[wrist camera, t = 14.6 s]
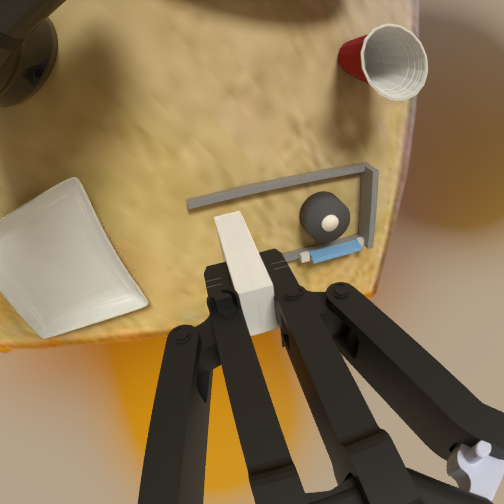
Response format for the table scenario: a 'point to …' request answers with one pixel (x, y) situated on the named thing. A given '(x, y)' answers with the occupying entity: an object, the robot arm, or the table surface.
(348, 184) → the table surface
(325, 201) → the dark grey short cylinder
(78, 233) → the square plate
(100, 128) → the table surface
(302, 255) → the gray u-shaped frame
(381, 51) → the plastic cup
